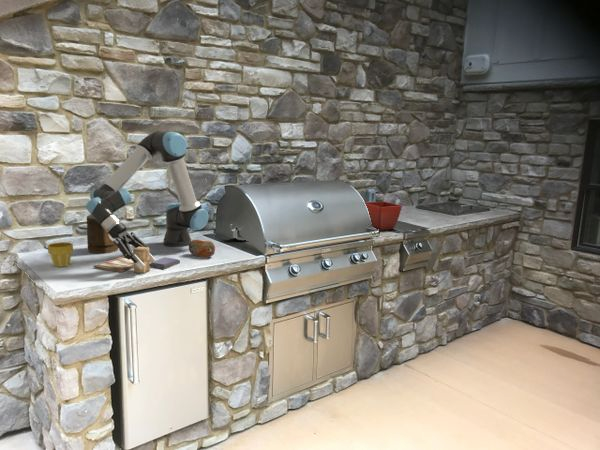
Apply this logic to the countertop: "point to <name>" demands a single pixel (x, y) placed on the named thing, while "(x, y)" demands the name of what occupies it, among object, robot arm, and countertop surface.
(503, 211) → the countertop surface
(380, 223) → the plant pot
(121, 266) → the print board
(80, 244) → the countertop surface
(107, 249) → the wooden container
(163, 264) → the pad
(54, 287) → the countertop surface
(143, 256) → the wooden block
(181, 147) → the robot arm
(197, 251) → the brown oval lump
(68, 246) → the plant pot
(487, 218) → the countertop surface
